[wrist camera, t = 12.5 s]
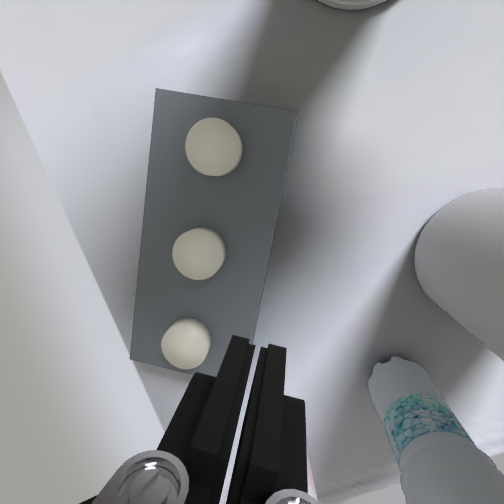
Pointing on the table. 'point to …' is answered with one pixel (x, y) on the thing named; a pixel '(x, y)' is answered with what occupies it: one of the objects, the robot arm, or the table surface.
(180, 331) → the knob
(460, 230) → the cylinder vase
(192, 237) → the knob middle
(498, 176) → the table surface
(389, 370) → the bottle
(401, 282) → the table surface
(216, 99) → the control panel
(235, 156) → the knob
